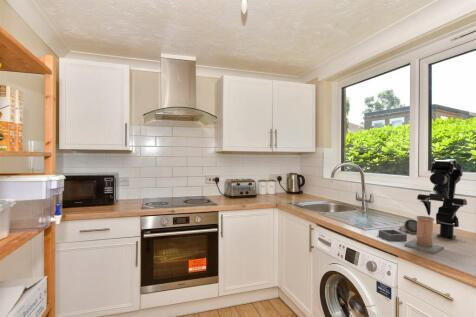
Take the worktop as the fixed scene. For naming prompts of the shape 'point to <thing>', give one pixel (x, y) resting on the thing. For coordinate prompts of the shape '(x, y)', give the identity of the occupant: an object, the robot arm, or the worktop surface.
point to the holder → (393, 235)
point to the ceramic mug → (410, 225)
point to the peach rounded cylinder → (424, 231)
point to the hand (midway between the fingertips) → (440, 217)
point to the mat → (433, 249)
